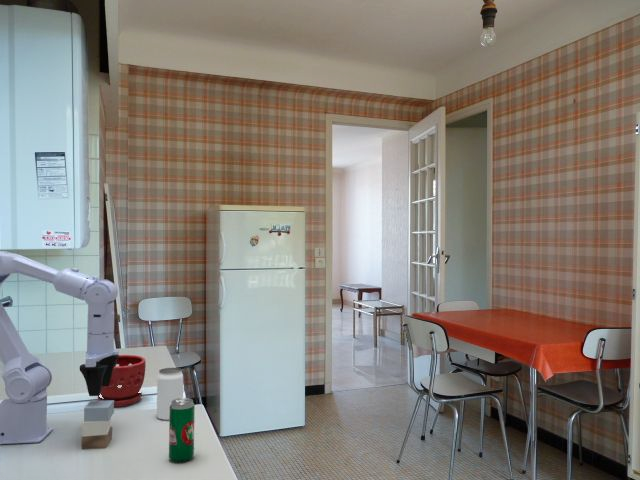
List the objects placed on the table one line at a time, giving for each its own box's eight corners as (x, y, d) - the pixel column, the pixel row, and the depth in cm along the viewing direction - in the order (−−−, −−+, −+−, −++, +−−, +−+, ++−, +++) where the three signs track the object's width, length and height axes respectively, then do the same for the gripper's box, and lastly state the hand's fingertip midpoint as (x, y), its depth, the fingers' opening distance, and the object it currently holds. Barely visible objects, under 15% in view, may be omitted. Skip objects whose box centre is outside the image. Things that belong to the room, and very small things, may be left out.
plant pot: (84, 405, 135) (84, 362, 135) (120, 392, 147) (121, 352, 147) (120, 412, 130) (121, 367, 130) (154, 398, 142) (155, 357, 142)
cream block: (82, 436, 106) (82, 422, 106) (86, 428, 111) (87, 414, 111) (107, 434, 108) (107, 420, 108) (110, 426, 112) (110, 413, 112)
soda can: (167, 455, 104) (168, 398, 104) (191, 451, 106) (192, 396, 106) (170, 465, 99) (171, 406, 99) (195, 461, 101) (196, 403, 101)
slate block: (83, 422, 107) (84, 408, 107) (90, 414, 112) (90, 401, 112) (108, 421, 108) (108, 407, 108) (113, 413, 113) (113, 400, 113)
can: (175, 421, 124) (175, 374, 124) (151, 419, 125) (152, 372, 125) (187, 413, 130) (187, 367, 130) (164, 411, 131) (165, 366, 131)
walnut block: (81, 450, 107) (81, 436, 107) (88, 440, 111) (89, 427, 112) (105, 448, 107) (105, 435, 107) (111, 439, 112) (112, 426, 112)
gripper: (109, 338, 108) (108, 399, 108) (126, 327, 122) (125, 381, 122) (75, 338, 107) (74, 400, 107) (96, 327, 121) (95, 382, 121)
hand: (99, 390), depth 115 cm, fingers open, 7 cm apart
